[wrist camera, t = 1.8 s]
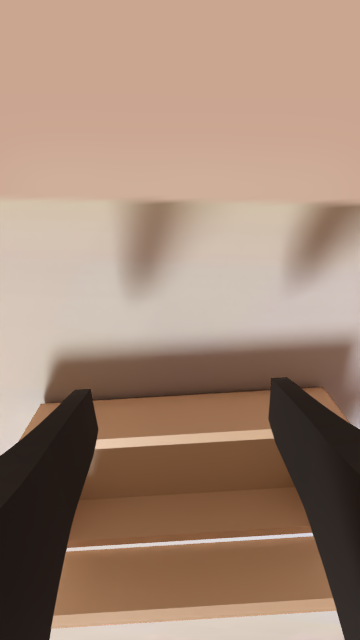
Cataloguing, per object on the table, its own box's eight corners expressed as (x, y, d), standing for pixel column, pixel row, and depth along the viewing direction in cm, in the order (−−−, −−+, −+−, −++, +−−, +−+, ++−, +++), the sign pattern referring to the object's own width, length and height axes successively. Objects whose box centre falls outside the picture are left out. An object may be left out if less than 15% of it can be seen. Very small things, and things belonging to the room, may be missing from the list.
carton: (306, 485, 21) (327, 531, 18) (68, 500, 21) (53, 548, 18) (322, 386, 18) (350, 424, 15) (41, 403, 17) (16, 444, 15)
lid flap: (321, 535, 18) (322, 547, 18) (60, 552, 18) (60, 563, 18) (367, 596, 13) (369, 610, 13) (19, 617, 13) (19, 633, 13)
